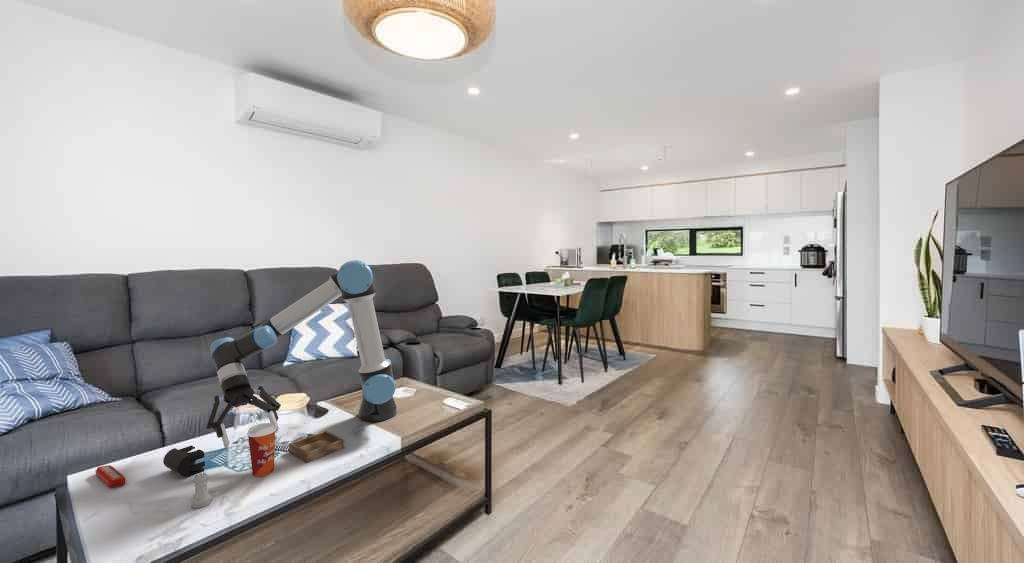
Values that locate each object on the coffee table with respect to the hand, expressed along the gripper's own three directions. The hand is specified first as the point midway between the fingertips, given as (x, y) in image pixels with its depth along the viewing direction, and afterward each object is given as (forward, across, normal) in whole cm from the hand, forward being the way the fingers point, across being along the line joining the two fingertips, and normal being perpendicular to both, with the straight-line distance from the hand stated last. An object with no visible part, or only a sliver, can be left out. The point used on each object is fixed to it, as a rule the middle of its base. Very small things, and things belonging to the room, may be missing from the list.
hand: (252, 437), depth 127 cm
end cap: (-3, +14, -18) cm, 23 cm away
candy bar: (-11, +29, -27) cm, 41 cm away
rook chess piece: (+14, +16, -1) cm, 21 cm away
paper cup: (+10, -1, -4) cm, 11 cm away
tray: (+9, -18, -5) cm, 21 cm away
